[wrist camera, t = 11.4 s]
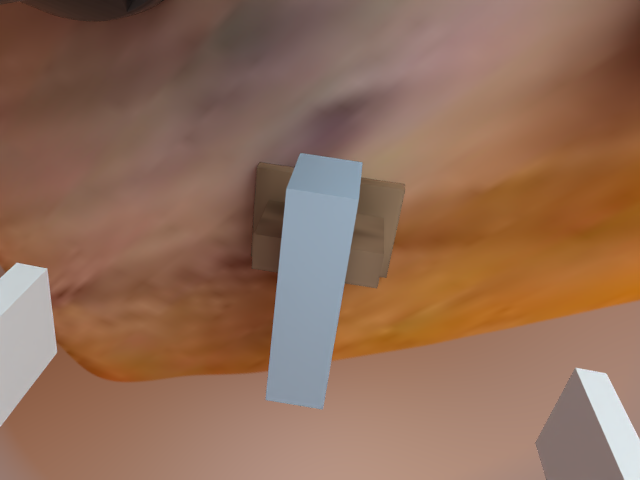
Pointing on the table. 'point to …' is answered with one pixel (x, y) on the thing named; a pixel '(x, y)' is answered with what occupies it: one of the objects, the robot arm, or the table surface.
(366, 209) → the ridge stand
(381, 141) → the table surface
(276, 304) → the bar
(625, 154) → the table surface
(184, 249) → the table surface
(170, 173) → the table surface
